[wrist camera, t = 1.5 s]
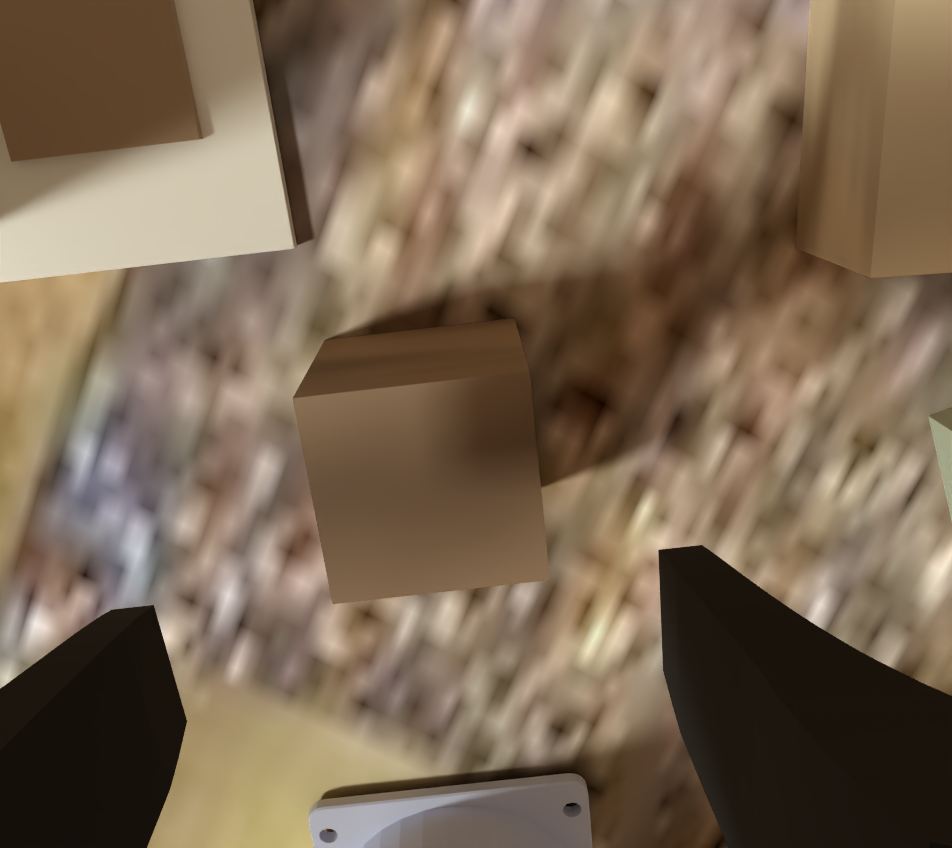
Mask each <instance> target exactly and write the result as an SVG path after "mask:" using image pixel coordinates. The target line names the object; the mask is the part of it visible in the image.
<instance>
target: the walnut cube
mask: <svg viewBox="0 0 952 848" xmlns="http://www.w3.org/2000/svg"><path fill="white" fill-rule="evenodd" d="M293 402H294V407H295V412H296V417H297V422H298V428H299V433H300V438H301V443H302V448H303V453H304V459H305V464H306V469H307V474H308V479H309V484H310V489H311V495H312V500H313V505H314V510H315V515H316V520H317V526H318V531H319V536H320V541H321V546H322V551H323V557H324V562H325V567H326V572H327V577H328V582H329V587H330V593H331V598H332V603H333V604H338V603H346V602H355V601H364V600H373V599H382V598H391V597H400V596H409V595H418V594H427V593H436V592H445V591H454V590H463V589H472V588H481V587H490V586H499V585H508V584H517V583H526V582H535V581H544V580H550V578H549V568H548V557H547V546H546V536H545V525H544V515H543V504H542V493H541V483H540V472H539V462H538V451H537V441H536V430H535V419H534V409H533V398H532V388H531V377H530V370H529V366H528V363H527V359H526V356H525V353H524V349H523V346H522V343H521V339H520V336H519V332H518V329H517V326H516V322H515V319H514V318H510V319H501V320H493V321H484V322H475V323H467V324H458V325H449V326H441V327H432V328H423V329H415V330H406V331H397V332H389V333H380V334H371V335H363V336H354V337H345V338H337V339H328V340H325V341H324V343H323V344H322V346H321V348H320V350H319V352H318V353H317V355H316V357H315V359H314V361H313V363H312V364H311V366H310V368H309V370H308V372H307V373H306V375H305V377H304V379H303V381H302V382H301V384H300V386H299V388H298V390H297V392H296V393H295V395H294V397H293Z"/></svg>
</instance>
